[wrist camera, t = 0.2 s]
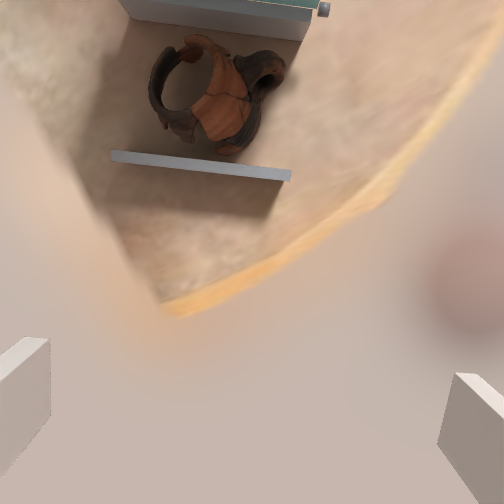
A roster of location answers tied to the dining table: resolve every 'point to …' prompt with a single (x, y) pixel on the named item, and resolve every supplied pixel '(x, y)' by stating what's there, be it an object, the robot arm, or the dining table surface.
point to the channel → (230, 20)
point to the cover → (296, 2)
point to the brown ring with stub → (219, 93)
